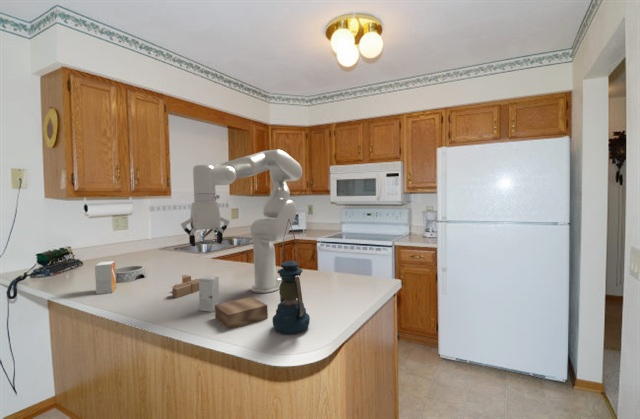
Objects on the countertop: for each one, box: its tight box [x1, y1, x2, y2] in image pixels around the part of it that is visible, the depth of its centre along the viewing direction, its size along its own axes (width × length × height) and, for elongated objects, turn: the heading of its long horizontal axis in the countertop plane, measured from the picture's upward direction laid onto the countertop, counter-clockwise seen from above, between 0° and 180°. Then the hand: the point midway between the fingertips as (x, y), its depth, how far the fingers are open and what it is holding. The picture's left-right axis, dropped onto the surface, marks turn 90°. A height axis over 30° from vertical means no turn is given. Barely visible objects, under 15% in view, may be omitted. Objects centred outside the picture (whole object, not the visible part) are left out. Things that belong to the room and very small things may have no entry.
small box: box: [94, 260, 117, 295], centre depth 149 cm, size 8×6×13 cm
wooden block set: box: [172, 274, 200, 299], centre depth 148 cm, size 17×6×18 cm
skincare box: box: [198, 275, 220, 313], centre depth 122 cm, size 6×4×12 cm
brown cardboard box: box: [214, 296, 269, 330], centre depth 113 cm, size 14×12×5 cm
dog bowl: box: [115, 265, 148, 284], centre depth 172 cm, size 17×18×5 cm
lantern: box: [272, 219, 311, 336], centre depth 103 cm, size 14×12×35 cm
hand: (206, 244), depth 122 cm, fingers open, 9 cm apart
